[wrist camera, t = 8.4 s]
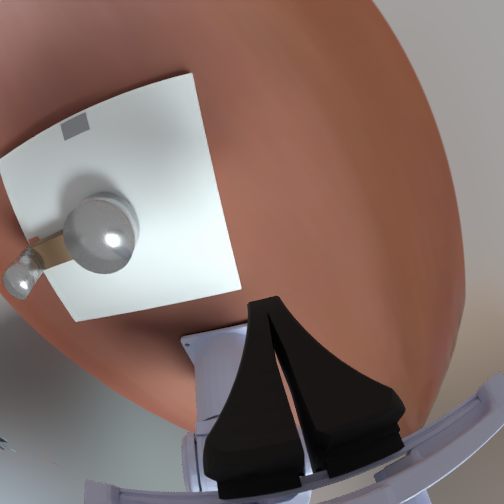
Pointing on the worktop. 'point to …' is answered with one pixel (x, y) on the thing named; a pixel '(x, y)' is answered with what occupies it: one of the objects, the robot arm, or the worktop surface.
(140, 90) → the base
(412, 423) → the worktop surface
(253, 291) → the worktop surface
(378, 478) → the robot arm
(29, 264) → the silver piece
